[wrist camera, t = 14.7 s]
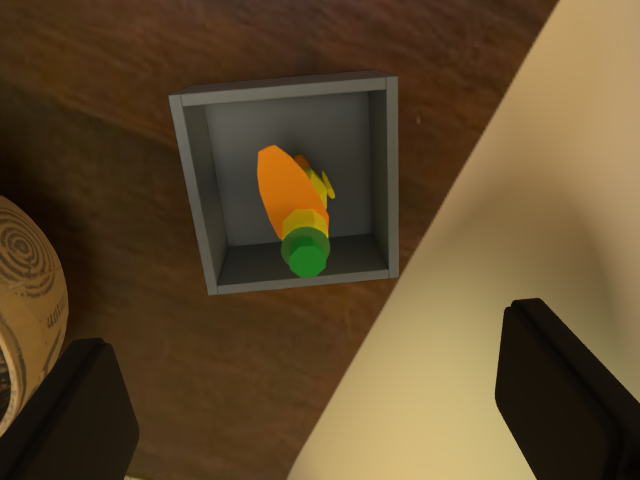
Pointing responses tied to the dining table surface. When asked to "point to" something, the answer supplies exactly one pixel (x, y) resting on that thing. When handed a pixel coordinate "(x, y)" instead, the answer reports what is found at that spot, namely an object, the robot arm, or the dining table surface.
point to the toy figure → (296, 208)
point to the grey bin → (294, 138)
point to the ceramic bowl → (27, 309)
